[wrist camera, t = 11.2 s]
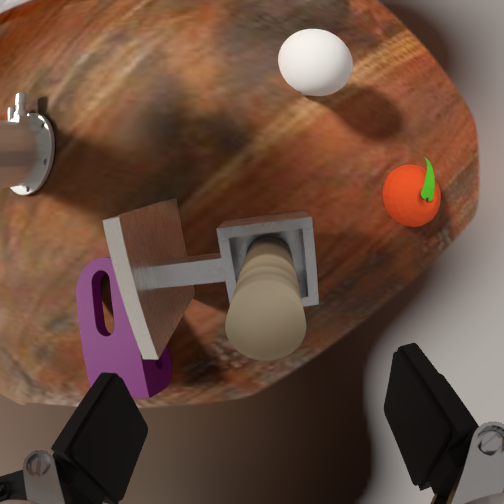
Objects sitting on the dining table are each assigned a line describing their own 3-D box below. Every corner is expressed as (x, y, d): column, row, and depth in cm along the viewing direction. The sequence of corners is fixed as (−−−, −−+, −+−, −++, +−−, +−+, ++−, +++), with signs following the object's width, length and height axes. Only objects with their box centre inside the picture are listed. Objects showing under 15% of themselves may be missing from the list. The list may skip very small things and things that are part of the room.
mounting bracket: (107, 271, 42) (123, 382, 38) (74, 264, 34) (91, 394, 30) (157, 261, 41) (175, 382, 38) (128, 251, 33) (149, 398, 29)
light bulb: (308, 124, 29) (327, 100, 19) (263, 86, 28) (261, 47, 18) (344, 87, 28) (377, 53, 17) (301, 51, 27) (315, 4, 16)
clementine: (381, 148, 30) (408, 143, 23) (428, 166, 30) (460, 167, 23) (367, 213, 32) (391, 224, 25) (414, 227, 32) (444, 240, 25)
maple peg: (243, 237, 25) (218, 295, 13) (289, 232, 25) (303, 287, 13) (249, 280, 26) (232, 362, 15) (293, 275, 26) (308, 356, 14)
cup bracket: (164, 200, 32) (102, 220, 19) (294, 180, 31) (314, 186, 18) (184, 294, 36) (143, 359, 22) (304, 281, 34) (325, 347, 21)
